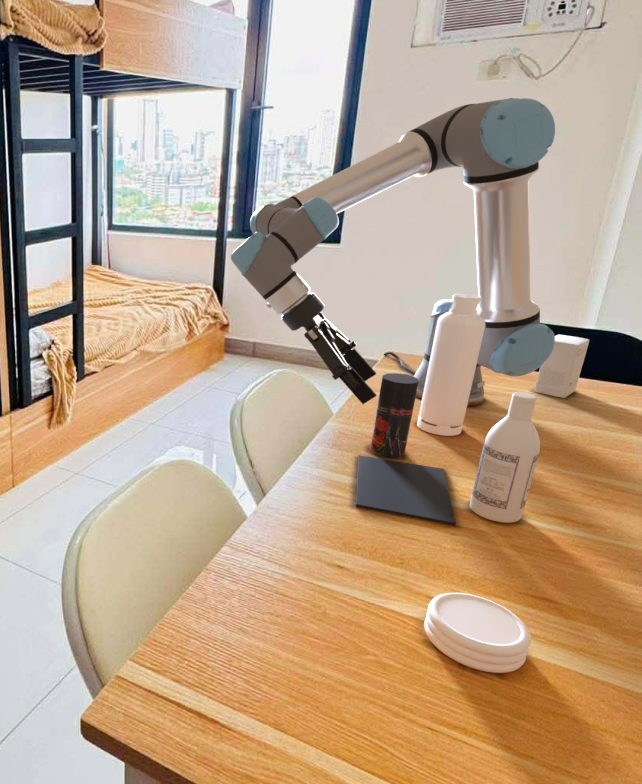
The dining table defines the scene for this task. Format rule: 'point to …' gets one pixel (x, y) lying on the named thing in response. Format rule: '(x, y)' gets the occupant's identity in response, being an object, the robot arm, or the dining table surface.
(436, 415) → the bottle
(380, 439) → the deodorant
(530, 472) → the bath foam
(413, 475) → the mat
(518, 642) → the coaster
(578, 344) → the small box
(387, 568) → the dining table surface
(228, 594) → the dining table surface
